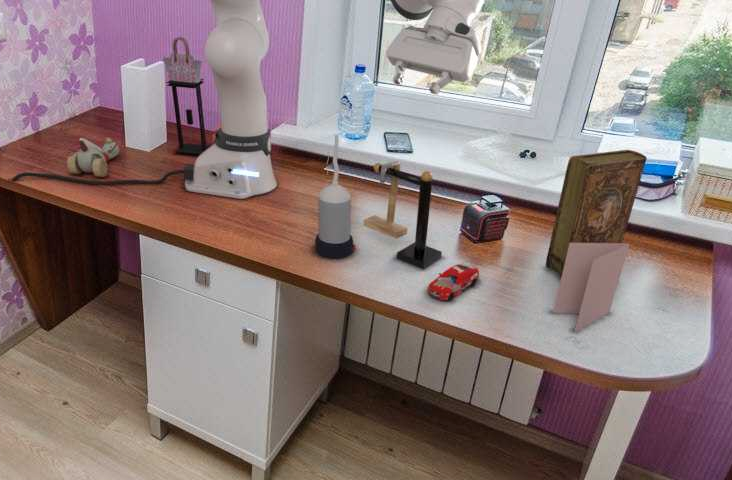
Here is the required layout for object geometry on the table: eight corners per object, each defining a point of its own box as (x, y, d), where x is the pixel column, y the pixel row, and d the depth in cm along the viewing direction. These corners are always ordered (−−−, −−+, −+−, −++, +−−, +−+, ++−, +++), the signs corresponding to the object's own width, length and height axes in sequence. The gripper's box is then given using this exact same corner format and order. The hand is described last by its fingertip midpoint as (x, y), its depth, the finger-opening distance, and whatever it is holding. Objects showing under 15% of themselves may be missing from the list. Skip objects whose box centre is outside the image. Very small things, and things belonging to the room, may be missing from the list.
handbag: (215, 148, 185) (205, 36, 168) (206, 157, 179) (194, 41, 162) (180, 144, 186) (166, 32, 169) (169, 153, 179) (153, 37, 163)
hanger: (375, 220, 144) (382, 154, 136) (408, 233, 140) (417, 166, 133) (358, 227, 140) (365, 159, 132) (392, 240, 136) (400, 171, 128)
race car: (443, 306, 123) (446, 288, 121) (422, 295, 126) (423, 277, 124) (483, 282, 132) (485, 265, 130) (461, 272, 135) (463, 255, 132)
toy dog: (123, 154, 176) (118, 121, 171) (122, 179, 162) (116, 144, 157) (74, 155, 172) (67, 122, 167) (68, 181, 158) (60, 145, 153)
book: (602, 257, 146) (631, 149, 132) (618, 268, 142) (651, 158, 128) (544, 268, 139) (568, 156, 125) (560, 281, 135) (587, 166, 121)
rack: (380, 234, 147) (385, 151, 136) (441, 257, 139) (451, 171, 129) (361, 244, 142) (364, 159, 131) (423, 269, 134) (432, 180, 124)
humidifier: (360, 254, 138) (364, 139, 124) (324, 261, 134) (325, 144, 120) (343, 238, 143) (345, 127, 130) (309, 245, 140) (307, 130, 126)
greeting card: (607, 310, 126) (627, 241, 118) (622, 331, 120) (644, 260, 112) (551, 310, 125) (568, 240, 116) (563, 331, 119) (581, 260, 110)
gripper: (399, 14, 139) (369, 67, 138) (481, 31, 130) (450, 88, 129) (409, 34, 145) (380, 86, 143) (488, 51, 136) (458, 107, 134)
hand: (414, 87), depth 136 cm, fingers open, 8 cm apart
